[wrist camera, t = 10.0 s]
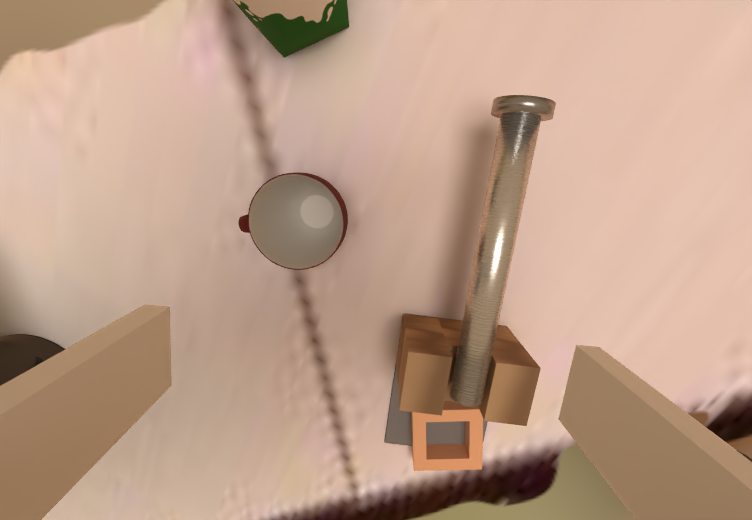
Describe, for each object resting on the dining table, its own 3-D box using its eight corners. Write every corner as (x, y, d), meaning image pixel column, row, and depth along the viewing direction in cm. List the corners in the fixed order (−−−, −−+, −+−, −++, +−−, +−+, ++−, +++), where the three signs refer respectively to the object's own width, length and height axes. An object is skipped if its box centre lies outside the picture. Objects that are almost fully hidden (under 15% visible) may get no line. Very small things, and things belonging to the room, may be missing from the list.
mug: (271, 260, 42) (237, 286, 32) (249, 189, 40) (205, 193, 30) (362, 238, 41) (355, 258, 31) (343, 164, 39) (330, 161, 29)
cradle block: (396, 360, 44) (399, 410, 35) (403, 313, 43) (408, 352, 33) (496, 373, 44) (526, 425, 35) (506, 326, 43) (540, 368, 33)
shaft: (483, 386, 37) (496, 415, 33) (437, 380, 37) (445, 408, 33) (540, 111, 31) (567, 100, 27) (486, 104, 31) (503, 92, 27)
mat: (384, 440, 46) (384, 442, 46) (396, 360, 44) (396, 362, 44) (479, 452, 46) (480, 454, 46) (496, 373, 44) (497, 374, 44)
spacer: (410, 398, 45) (412, 455, 46) (412, 411, 42) (414, 470, 44) (477, 396, 44) (476, 453, 46) (483, 409, 42) (482, 469, 44)
